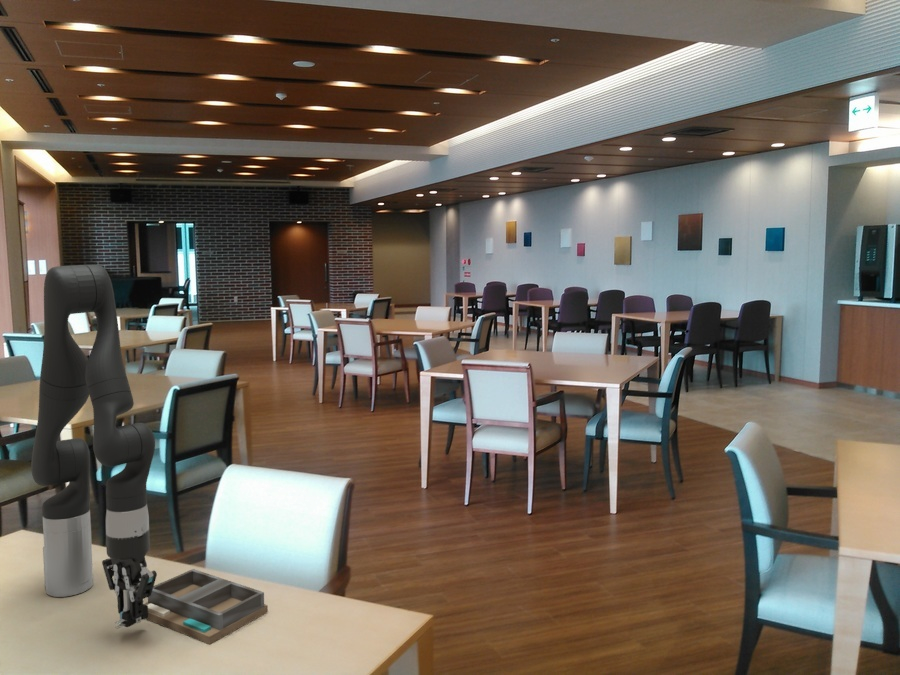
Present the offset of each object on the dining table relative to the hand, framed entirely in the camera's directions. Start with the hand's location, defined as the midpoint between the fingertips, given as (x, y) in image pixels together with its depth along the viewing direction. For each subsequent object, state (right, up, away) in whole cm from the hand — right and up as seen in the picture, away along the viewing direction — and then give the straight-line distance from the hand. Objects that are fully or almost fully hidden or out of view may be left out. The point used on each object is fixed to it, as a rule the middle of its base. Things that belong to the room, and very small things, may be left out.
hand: (130, 614), depth 139 cm
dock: (+11, -3, +9) cm, 15 cm away
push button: (0, -2, 0) cm, 2 cm away
